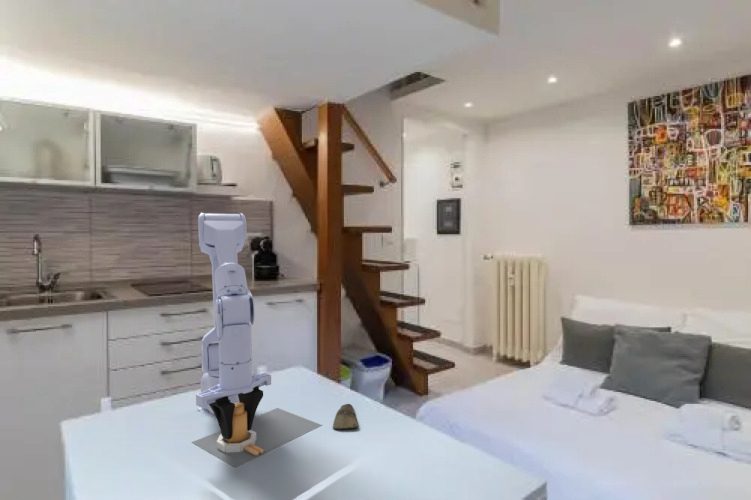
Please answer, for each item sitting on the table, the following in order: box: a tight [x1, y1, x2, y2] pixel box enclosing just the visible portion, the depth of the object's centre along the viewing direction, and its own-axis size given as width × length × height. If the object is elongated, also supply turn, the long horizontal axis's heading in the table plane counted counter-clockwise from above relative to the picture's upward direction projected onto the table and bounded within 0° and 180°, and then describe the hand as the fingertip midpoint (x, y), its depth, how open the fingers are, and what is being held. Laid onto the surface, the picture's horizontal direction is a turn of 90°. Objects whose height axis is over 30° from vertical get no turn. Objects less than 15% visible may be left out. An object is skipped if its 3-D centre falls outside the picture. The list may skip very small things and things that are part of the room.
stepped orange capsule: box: [227, 403, 247, 444], centre depth 79 cm, size 4×4×6 cm
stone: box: [332, 403, 359, 430], centre depth 91 cm, size 13×5×2 cm, turn 6°
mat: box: [191, 407, 323, 468], centre depth 84 cm, size 14×20×2 cm
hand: (236, 433), depth 80 cm, fingers closed on stepped orange capsule, 3 cm apart
